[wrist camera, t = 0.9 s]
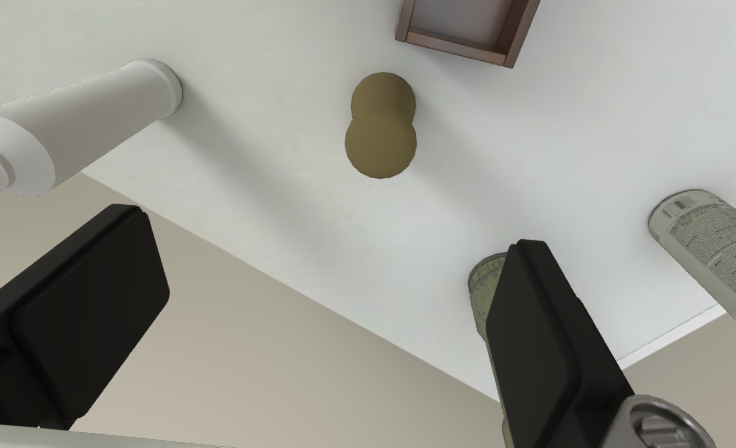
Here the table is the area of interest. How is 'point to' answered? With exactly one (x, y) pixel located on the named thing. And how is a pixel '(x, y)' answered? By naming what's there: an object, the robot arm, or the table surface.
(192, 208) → the table surface
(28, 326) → the robot arm
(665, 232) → the spray can
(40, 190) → the bottle
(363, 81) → the cork
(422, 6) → the caddy
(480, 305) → the thermos
